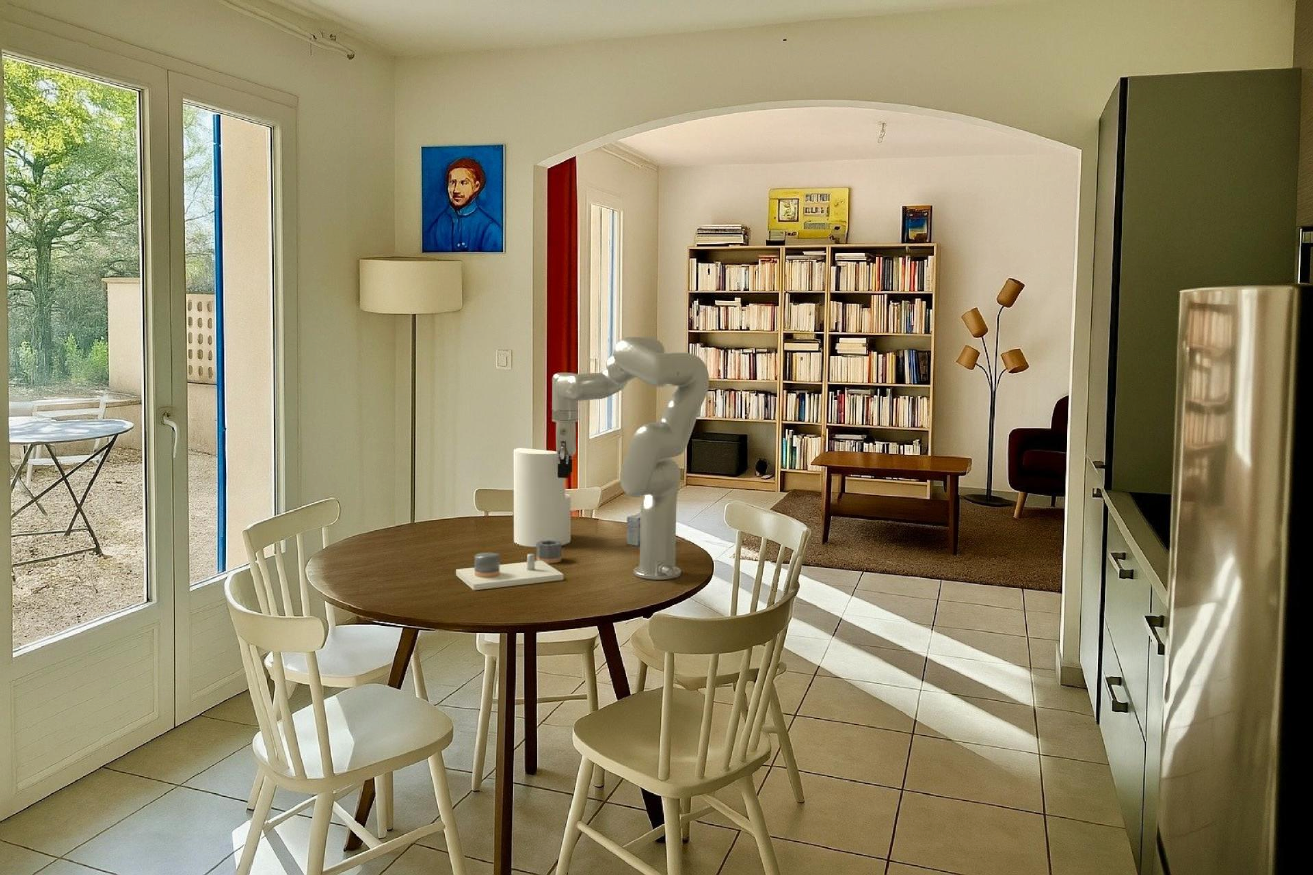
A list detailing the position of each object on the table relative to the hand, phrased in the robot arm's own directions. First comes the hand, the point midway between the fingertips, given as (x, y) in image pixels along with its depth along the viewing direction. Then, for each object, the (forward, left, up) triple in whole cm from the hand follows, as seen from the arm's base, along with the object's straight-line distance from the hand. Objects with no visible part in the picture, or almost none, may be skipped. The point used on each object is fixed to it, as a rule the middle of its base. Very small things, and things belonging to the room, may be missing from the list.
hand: (565, 474), depth 284 cm
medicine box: (+2, -25, -23) cm, 34 cm away
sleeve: (-7, +8, -23) cm, 25 cm away
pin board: (-20, +24, -23) cm, 39 cm away
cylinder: (+17, +1, -23) cm, 28 cm away
